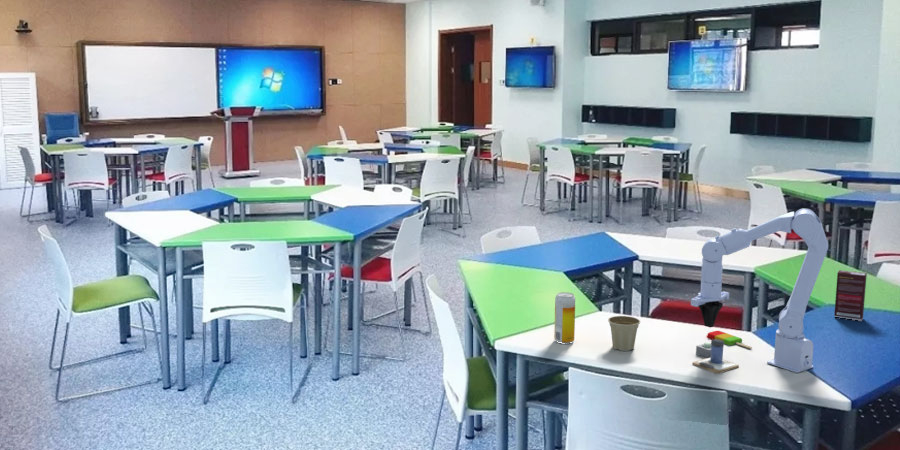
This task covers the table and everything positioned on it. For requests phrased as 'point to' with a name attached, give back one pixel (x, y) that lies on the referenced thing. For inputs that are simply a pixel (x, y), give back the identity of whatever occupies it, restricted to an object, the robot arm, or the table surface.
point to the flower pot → (623, 332)
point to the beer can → (564, 317)
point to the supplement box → (850, 295)
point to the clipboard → (715, 365)
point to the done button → (707, 345)
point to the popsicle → (726, 338)
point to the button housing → (703, 351)
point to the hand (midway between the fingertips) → (708, 326)
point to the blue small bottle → (716, 351)
